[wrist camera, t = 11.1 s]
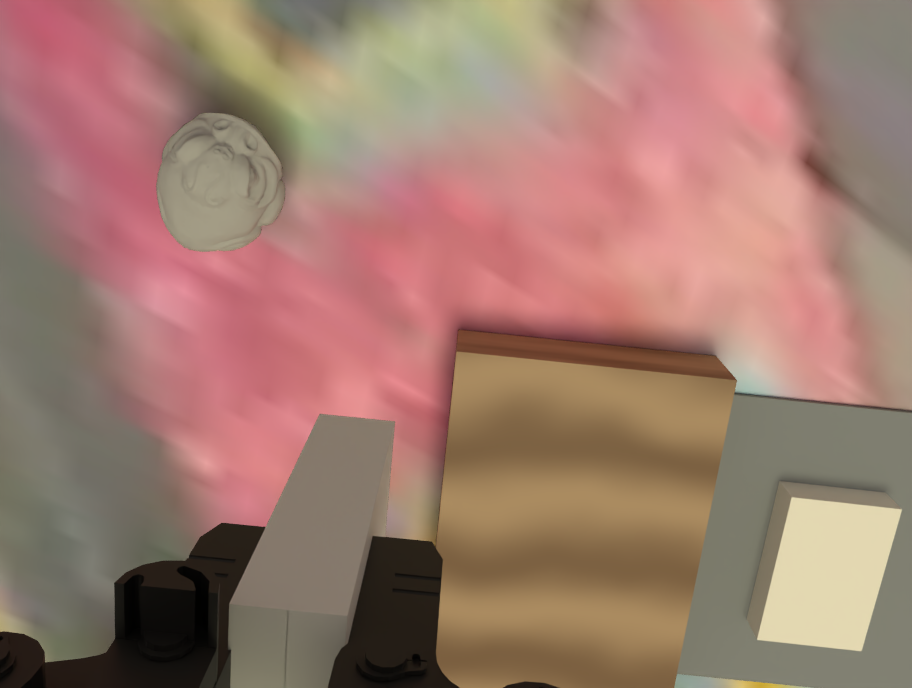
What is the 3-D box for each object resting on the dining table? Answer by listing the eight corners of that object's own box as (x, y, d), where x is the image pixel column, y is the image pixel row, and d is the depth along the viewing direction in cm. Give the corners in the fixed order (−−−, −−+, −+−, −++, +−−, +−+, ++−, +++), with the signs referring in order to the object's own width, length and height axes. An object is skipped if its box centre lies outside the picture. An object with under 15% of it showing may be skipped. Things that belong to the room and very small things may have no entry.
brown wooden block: (458, 329, 47) (456, 351, 43) (715, 356, 47) (736, 380, 43) (422, 673, 53) (418, 718, 50) (649, 696, 54) (662, 743, 50)
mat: (727, 392, 48) (728, 394, 47) (1017, 422, 48) (1020, 424, 48) (671, 670, 53) (672, 673, 53) (932, 696, 53) (935, 699, 53)
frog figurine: (324, 148, 45) (297, 160, 38) (260, 263, 46) (224, 293, 40) (219, 83, 44) (172, 83, 37) (158, 202, 46) (103, 223, 39)
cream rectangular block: (902, 509, 47) (885, 492, 49) (791, 497, 47) (779, 480, 49) (861, 651, 50) (847, 630, 52) (756, 639, 50) (746, 619, 51)
